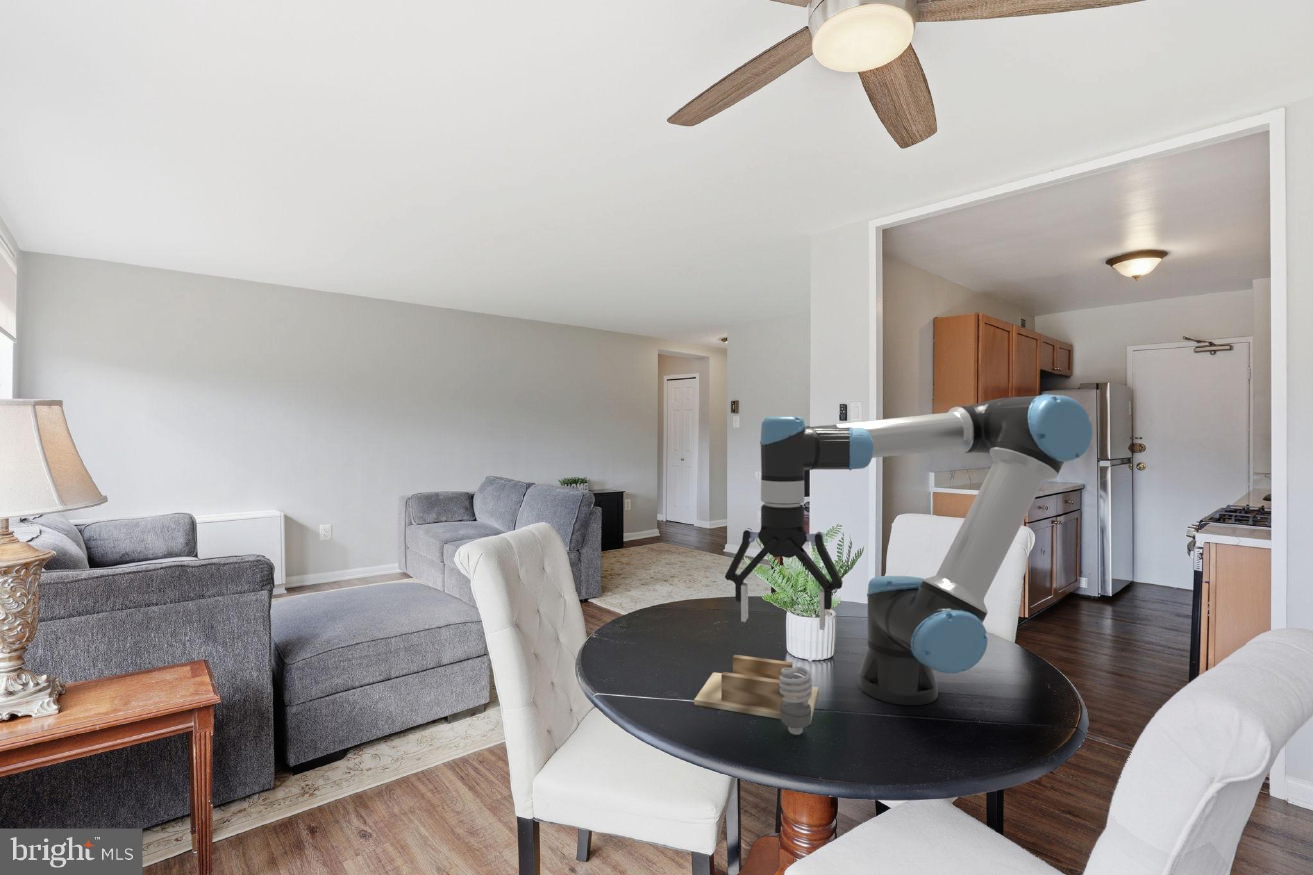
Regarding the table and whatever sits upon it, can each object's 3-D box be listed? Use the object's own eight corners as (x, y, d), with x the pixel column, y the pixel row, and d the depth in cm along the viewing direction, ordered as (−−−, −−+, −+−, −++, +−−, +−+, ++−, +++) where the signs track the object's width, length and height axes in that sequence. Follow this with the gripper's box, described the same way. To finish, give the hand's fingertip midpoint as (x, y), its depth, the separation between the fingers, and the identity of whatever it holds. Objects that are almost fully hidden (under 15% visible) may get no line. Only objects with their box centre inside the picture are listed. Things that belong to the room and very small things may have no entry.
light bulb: (807, 726, 111) (807, 660, 110) (816, 743, 105) (816, 673, 105) (775, 727, 110) (776, 661, 110) (783, 743, 105) (783, 673, 105)
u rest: (818, 692, 125) (818, 662, 125) (810, 723, 112) (810, 691, 112) (713, 676, 133) (713, 649, 132) (694, 704, 119) (694, 674, 119)
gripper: (857, 503, 108) (857, 623, 109) (718, 498, 116) (718, 610, 117) (856, 509, 101) (856, 637, 102) (708, 504, 109) (709, 622, 110)
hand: (782, 623), depth 109 cm, fingers open, 13 cm apart
